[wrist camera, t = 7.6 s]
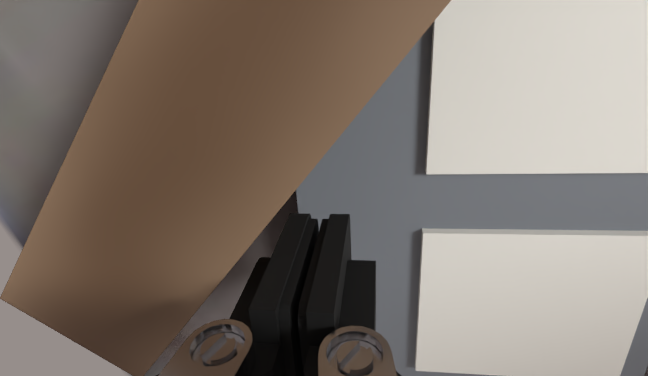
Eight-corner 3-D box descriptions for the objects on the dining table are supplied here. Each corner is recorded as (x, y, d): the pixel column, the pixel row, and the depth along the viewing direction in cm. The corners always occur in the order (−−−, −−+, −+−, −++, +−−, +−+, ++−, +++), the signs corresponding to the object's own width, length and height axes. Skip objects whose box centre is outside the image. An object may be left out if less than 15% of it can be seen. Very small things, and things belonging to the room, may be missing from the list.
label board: (841, -314, 8) (959, -394, 6) (596, 413, 17) (620, 456, 15) (270, -232, 10) (249, -281, 8) (322, 395, 19) (317, 432, 17)
